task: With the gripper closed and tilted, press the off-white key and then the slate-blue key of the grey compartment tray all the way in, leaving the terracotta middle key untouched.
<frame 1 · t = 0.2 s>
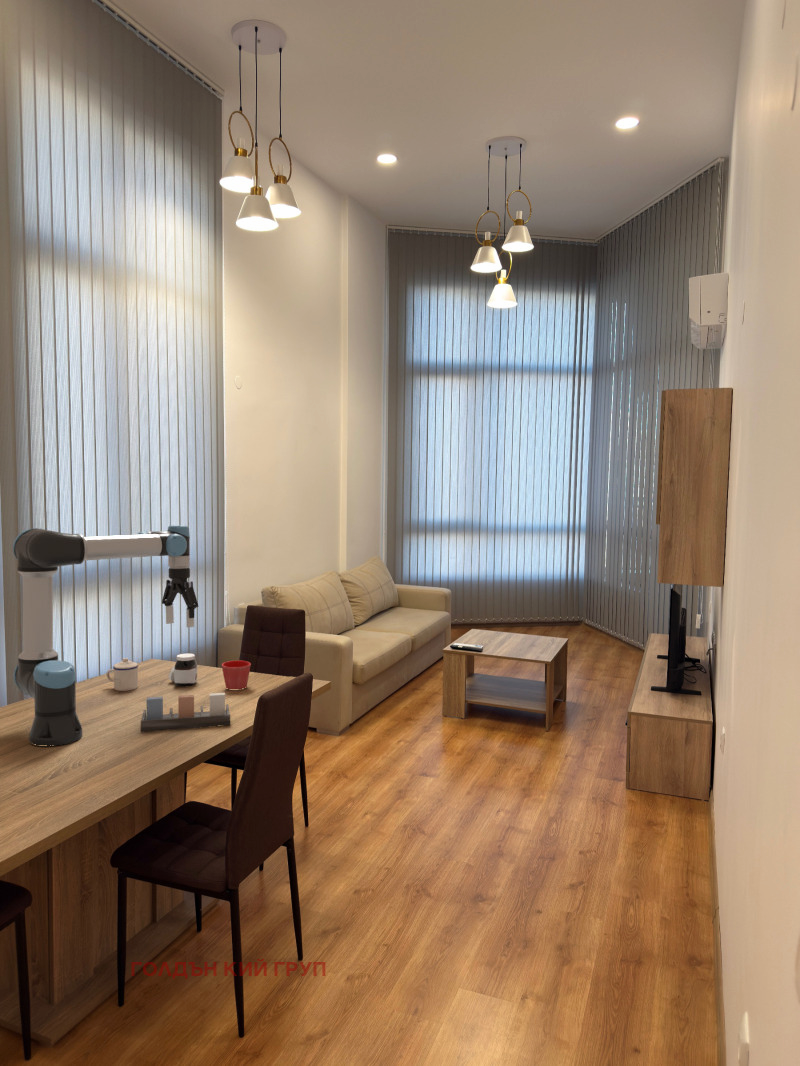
hand: (179, 625, 275), 27 cm above the table, tool pointing down, fingers open, 13 cm apart
key offwhite: (217, 704, 253), point 5 cm above the table, slide at 0.0 cm
teacup with lid: (122, 688, 290), on the table
key terracotta: (186, 706, 250), point 5 cm above the table, slide at 0.0 cm
flower pot: (236, 688, 292), on the table
grey compartment tray: (186, 722, 250), on the table
spread jar: (182, 684, 297), on the table
key slate: (154, 708, 247), point 5 cm above the table, slide at 0.0 cm
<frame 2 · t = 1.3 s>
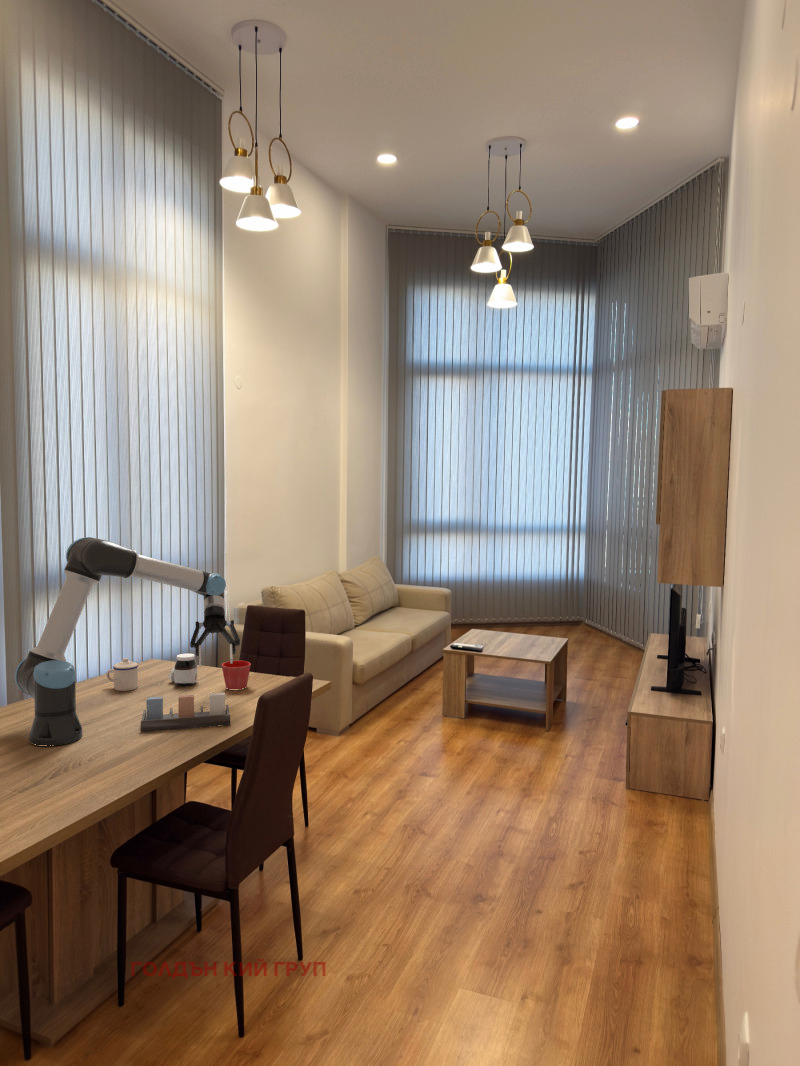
hand: (215, 662, 265), 17 cm above the table, tool tilted 45°, fingers open, 10 cm apart
nothing on the table moved.
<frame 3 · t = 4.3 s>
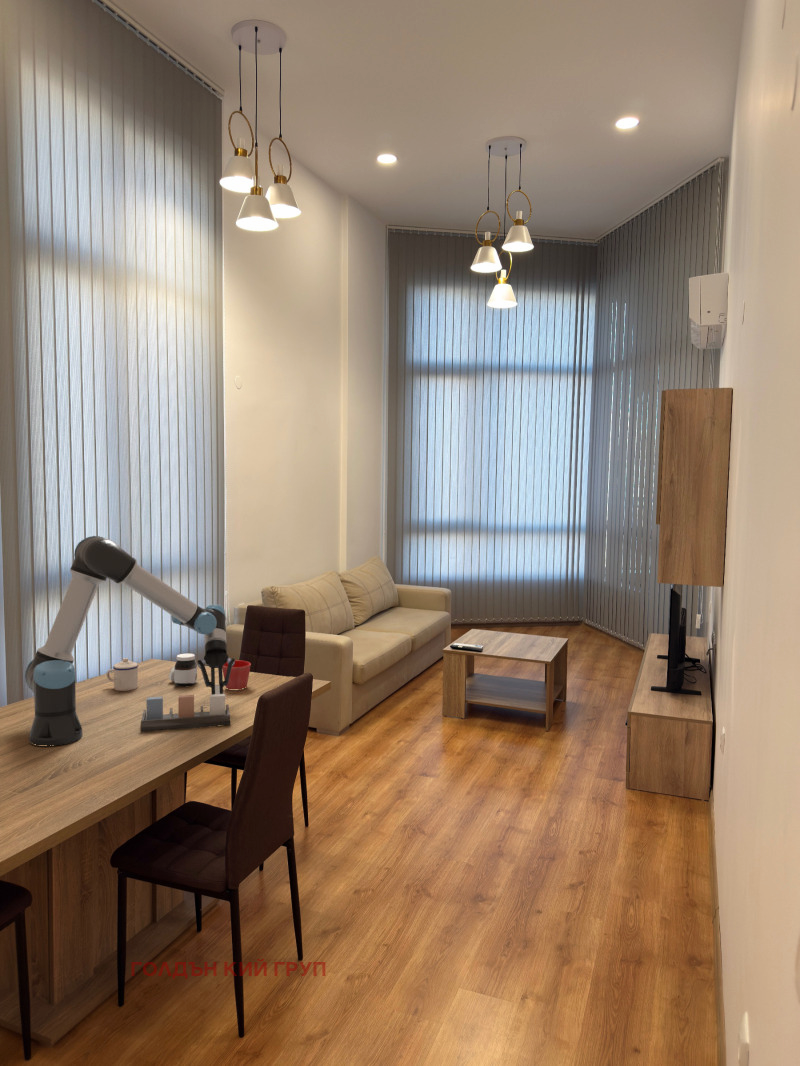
hand: (217, 703, 254), 5 cm above the table, tool tilted 45°, fingers closed
key offwhite: (217, 705, 251), point 5 cm above the table, slide at 1.3 cm, touching gripper
everything else where it was.
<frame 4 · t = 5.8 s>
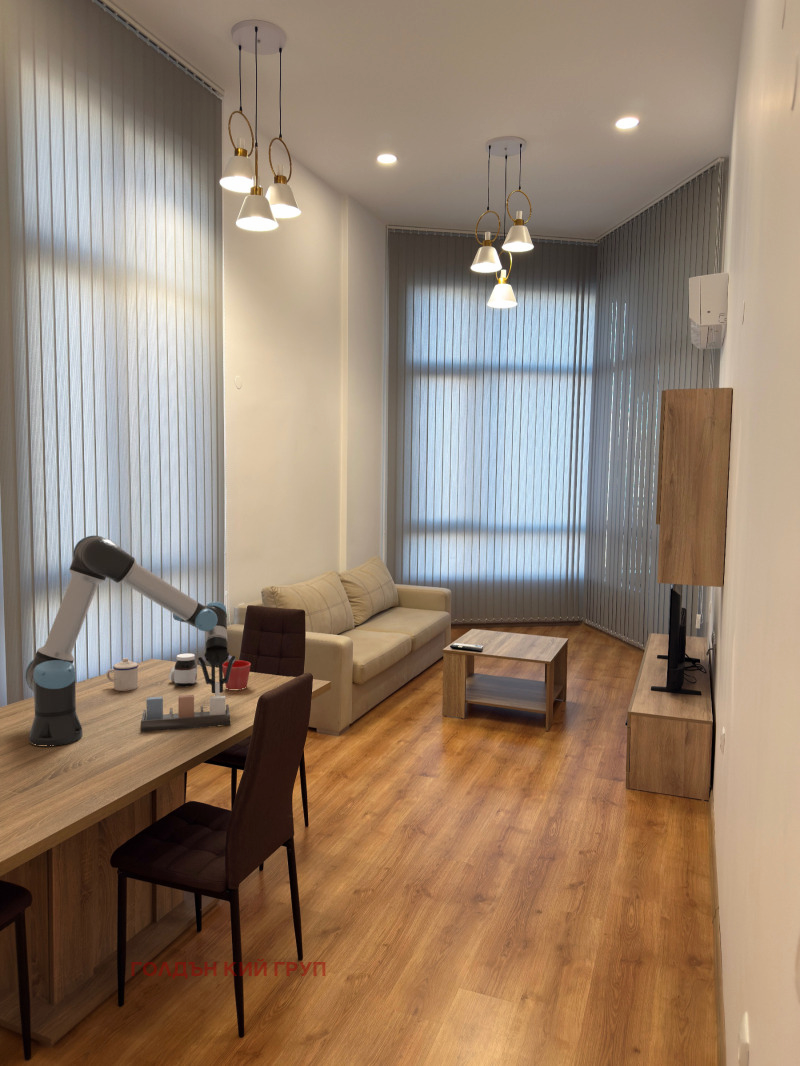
hand: (217, 700, 253), 6 cm above the table, tool tilted 45°, fingers closed
key offwhite: (217, 707, 249), point 5 cm above the table, slide at 3.6 cm
everything else where it was.
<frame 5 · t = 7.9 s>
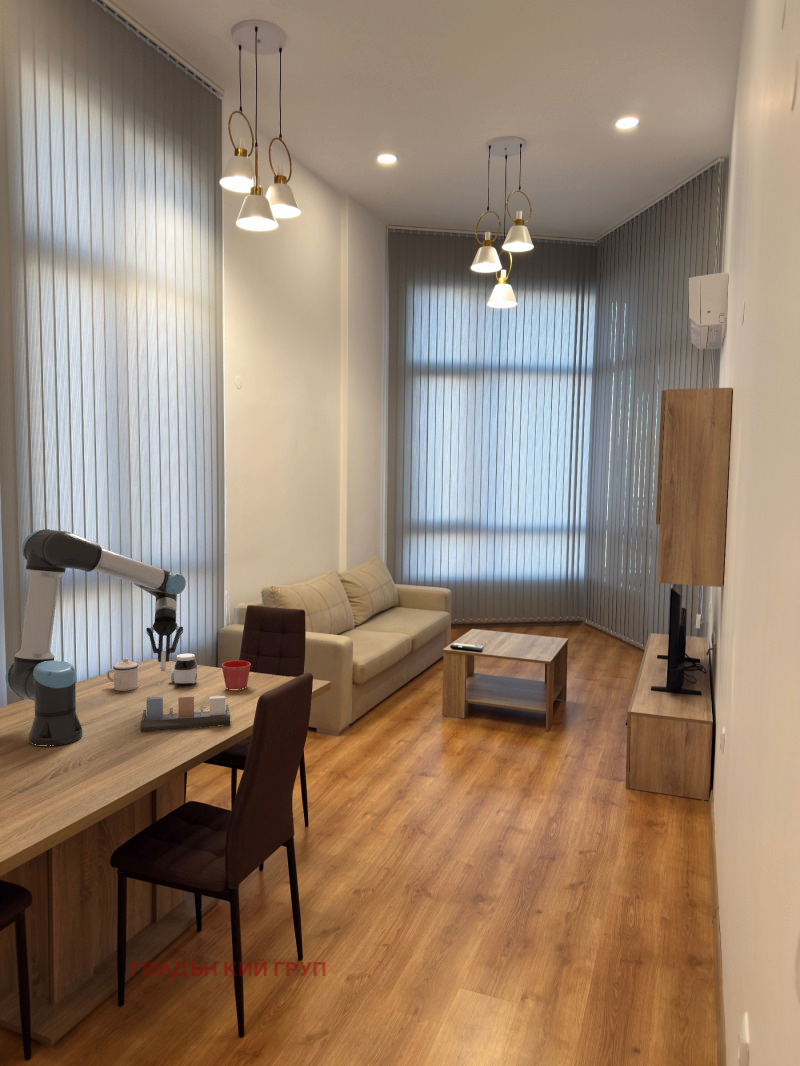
hand: (163, 669, 259), 15 cm above the table, tool tilted 45°, fingers closed
nothing on the table moved.
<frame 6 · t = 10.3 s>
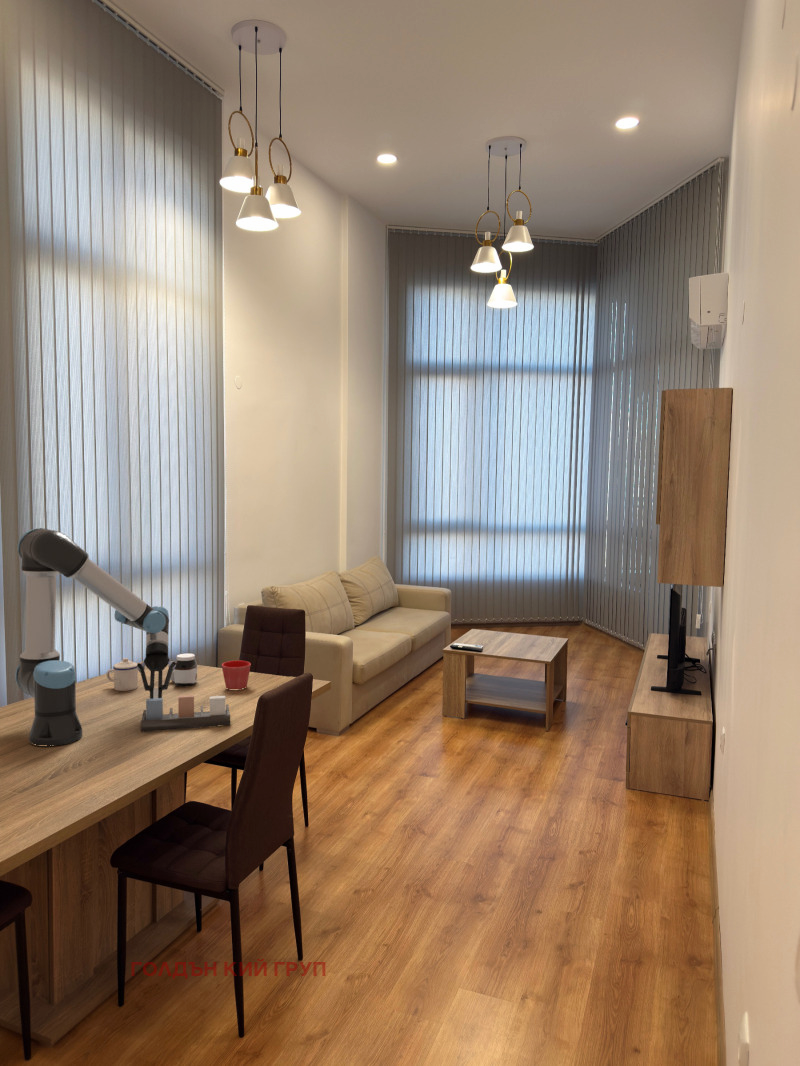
hand: (155, 707, 248), 5 cm above the table, tool tilted 45°, fingers closed
key slate: (154, 710, 246), point 5 cm above the table, slide at 1.6 cm, touching gripper
everything else where it was.
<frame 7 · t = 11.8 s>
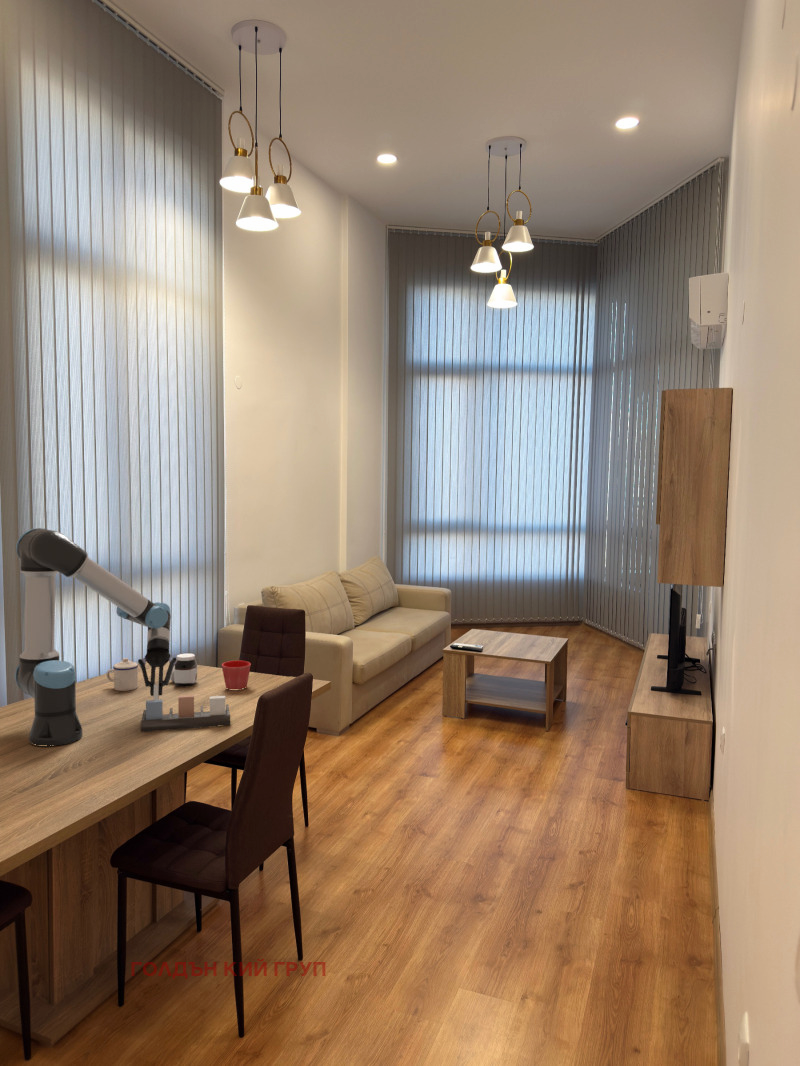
hand: (155, 703, 249), 7 cm above the table, tool tilted 45°, fingers closed
key slate: (154, 712, 244), point 5 cm above the table, slide at 3.6 cm
everything else where it was.
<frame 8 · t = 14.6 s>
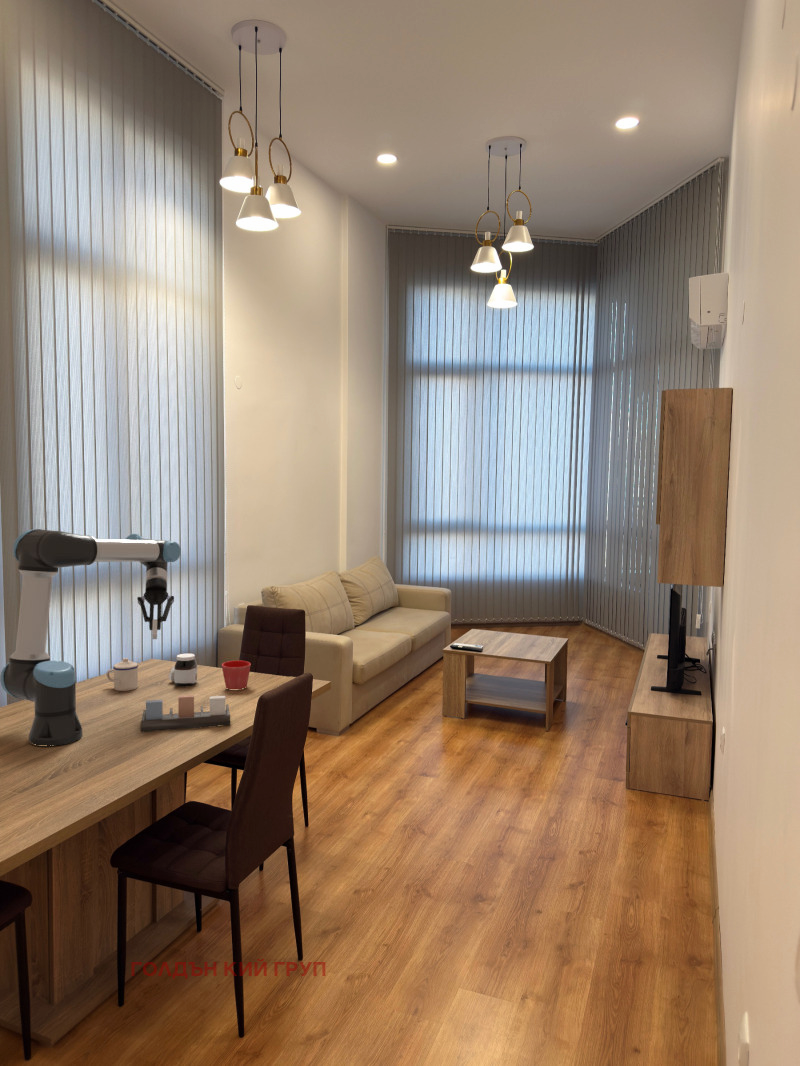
hand: (154, 636, 261), 26 cm above the table, tool tilted 45°, fingers closed
nothing on the table moved.
at the end: key offwhite slide at 3.6 cm; key slate slide at 3.6 cm; key terracotta slide at 0.0 cm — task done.
